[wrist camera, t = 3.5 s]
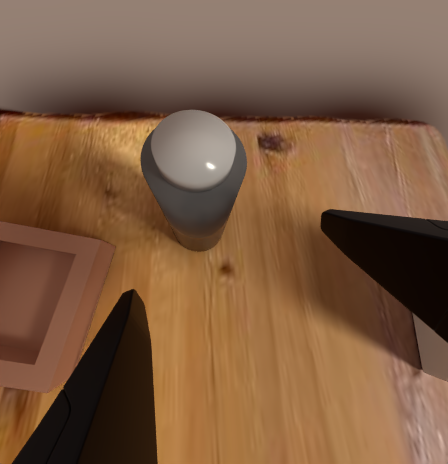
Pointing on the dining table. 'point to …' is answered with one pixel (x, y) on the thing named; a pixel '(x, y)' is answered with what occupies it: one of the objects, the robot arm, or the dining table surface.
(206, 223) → the pepper mill
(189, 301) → the dining table surface
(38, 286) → the terracotta holder
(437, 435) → the dining table surface
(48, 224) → the dining table surface
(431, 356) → the milk carton
